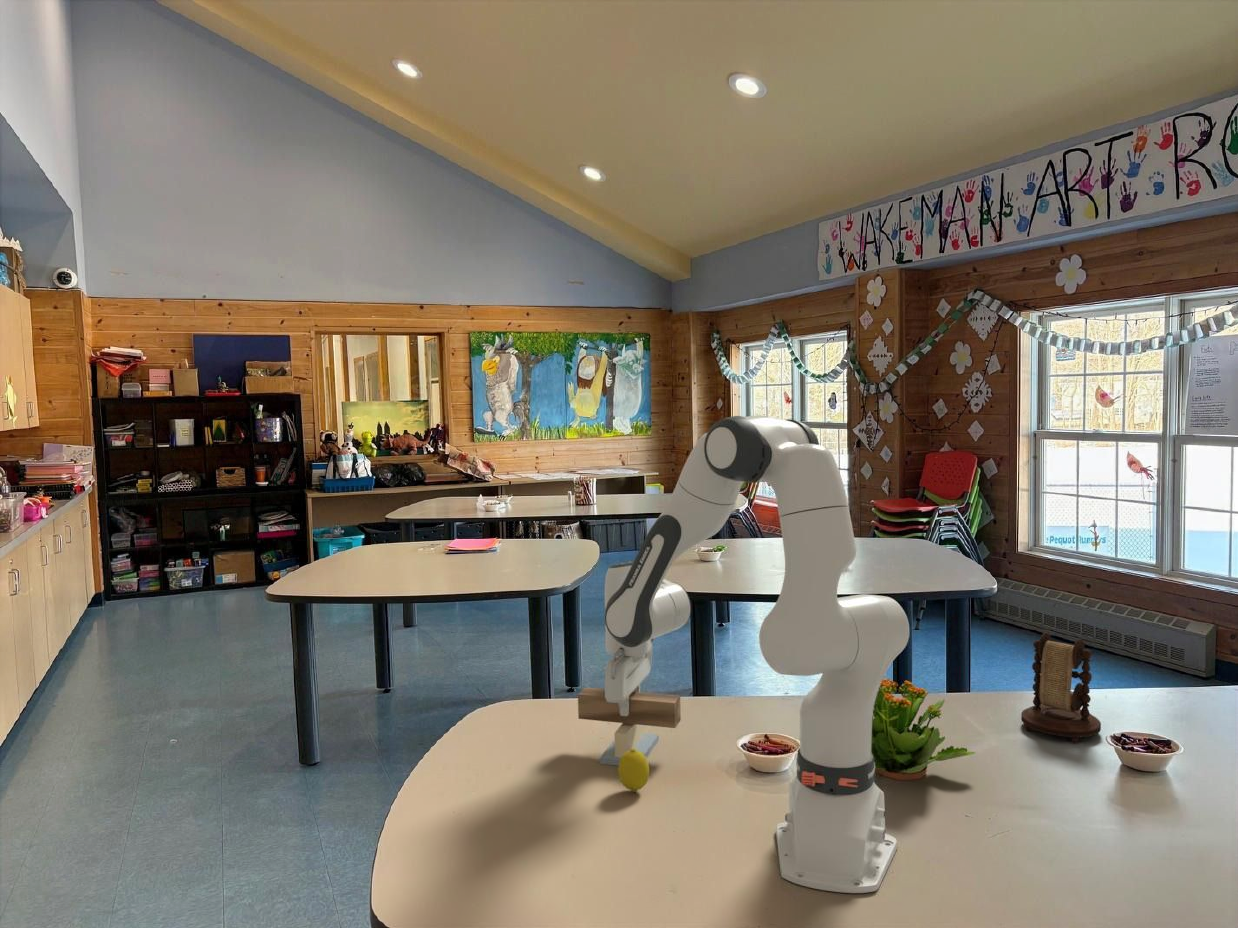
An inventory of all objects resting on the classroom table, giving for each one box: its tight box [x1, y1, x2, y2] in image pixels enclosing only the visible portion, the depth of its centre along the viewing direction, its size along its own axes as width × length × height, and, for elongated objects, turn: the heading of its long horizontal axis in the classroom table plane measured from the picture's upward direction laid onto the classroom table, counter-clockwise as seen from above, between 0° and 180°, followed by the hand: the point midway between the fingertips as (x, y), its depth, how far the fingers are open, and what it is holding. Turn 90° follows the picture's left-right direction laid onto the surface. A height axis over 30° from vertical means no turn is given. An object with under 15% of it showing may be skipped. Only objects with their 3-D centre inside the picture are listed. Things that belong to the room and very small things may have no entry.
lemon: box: [618, 749, 650, 793], centre depth 162 cm, size 6×6×8 cm
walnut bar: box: [577, 686, 682, 729], centre depth 179 cm, size 4×20×5 cm, turn 72°
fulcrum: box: [599, 723, 660, 767], centre depth 180 cm, size 14×8×6 cm, turn 162°
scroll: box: [1020, 632, 1102, 744], centre depth 185 cm, size 15×15×20 cm
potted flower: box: [871, 677, 976, 781], centre depth 167 cm, size 25×24×18 cm
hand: (629, 709), depth 179 cm, fingers closed on walnut bar, 4 cm apart
